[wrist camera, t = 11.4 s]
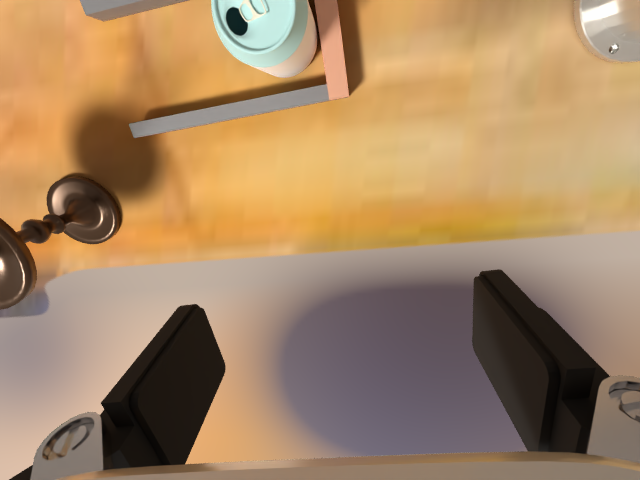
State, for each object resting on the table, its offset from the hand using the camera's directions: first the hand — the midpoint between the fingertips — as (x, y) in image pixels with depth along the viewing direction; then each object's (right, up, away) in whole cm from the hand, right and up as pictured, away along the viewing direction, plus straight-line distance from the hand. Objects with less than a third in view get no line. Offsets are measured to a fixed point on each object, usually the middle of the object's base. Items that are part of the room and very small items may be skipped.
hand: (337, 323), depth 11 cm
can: (-4, +24, +21) cm, 32 cm away
